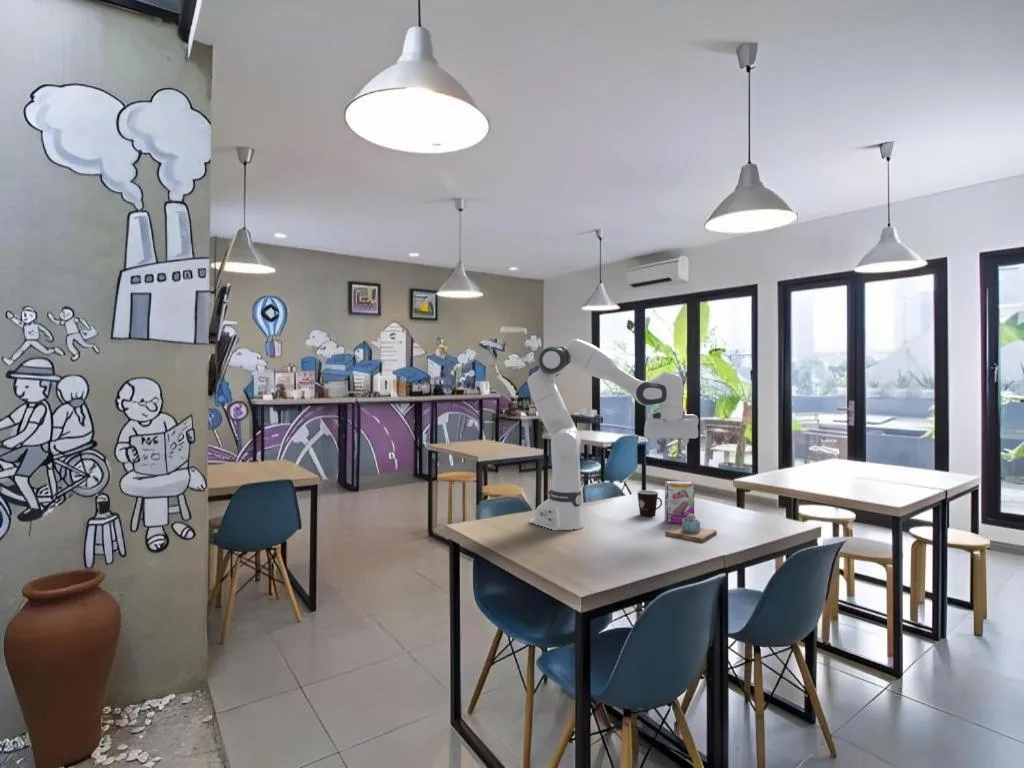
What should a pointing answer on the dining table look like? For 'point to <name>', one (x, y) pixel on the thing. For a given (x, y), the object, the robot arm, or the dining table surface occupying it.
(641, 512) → the coffee mug
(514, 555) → the dining table surface
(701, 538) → the shaft stand
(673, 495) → the candy bar box
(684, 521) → the blue faceted pot
